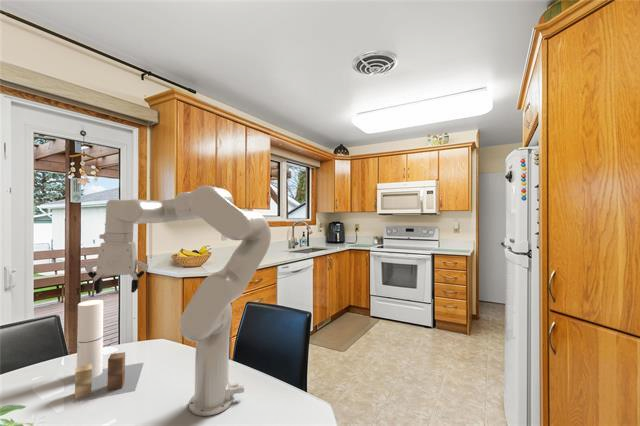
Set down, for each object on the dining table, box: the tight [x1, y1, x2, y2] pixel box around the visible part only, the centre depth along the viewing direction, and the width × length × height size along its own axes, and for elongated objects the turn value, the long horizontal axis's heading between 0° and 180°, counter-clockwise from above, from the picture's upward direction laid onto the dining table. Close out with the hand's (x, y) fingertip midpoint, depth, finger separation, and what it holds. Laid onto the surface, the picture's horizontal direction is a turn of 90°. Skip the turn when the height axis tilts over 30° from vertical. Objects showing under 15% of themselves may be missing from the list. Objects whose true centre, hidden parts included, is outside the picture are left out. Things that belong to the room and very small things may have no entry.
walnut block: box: [107, 351, 126, 391], centre depth 98 cm, size 4×4×10 cm
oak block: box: [74, 364, 92, 399], centre depth 94 cm, size 4×4×8 cm
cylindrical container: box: [76, 299, 104, 378], centre depth 105 cm, size 7×7×25 cm
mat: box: [72, 362, 144, 403], centre depth 102 cm, size 16×20×1 cm
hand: (116, 292), depth 96 cm, fingers open, 9 cm apart
